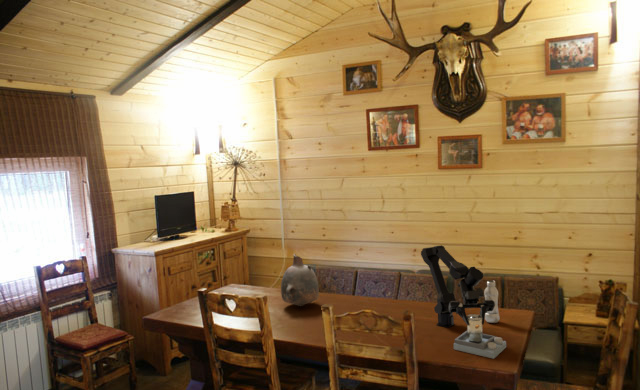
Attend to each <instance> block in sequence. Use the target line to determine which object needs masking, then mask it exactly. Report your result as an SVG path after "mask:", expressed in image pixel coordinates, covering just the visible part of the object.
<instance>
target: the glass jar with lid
mask: <svg viewBox="0 0 640 390" xmlns="http://www.w3.org/2000/svg"><path fill="white" fill-rule="evenodd" d="M466 316H467V319H468V324H469V325H467V324H466V326H467V327H466V328H467V329H466V331H468V340H470V341H475V342H478V341H482V340H483V336H482V334H483V325H482V316H481V315H480V314H474V313H472V314H468V315H467V314H466Z"/></svg>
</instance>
